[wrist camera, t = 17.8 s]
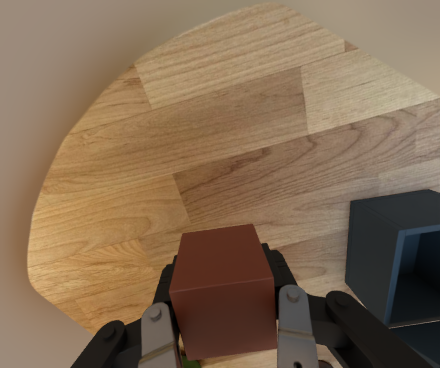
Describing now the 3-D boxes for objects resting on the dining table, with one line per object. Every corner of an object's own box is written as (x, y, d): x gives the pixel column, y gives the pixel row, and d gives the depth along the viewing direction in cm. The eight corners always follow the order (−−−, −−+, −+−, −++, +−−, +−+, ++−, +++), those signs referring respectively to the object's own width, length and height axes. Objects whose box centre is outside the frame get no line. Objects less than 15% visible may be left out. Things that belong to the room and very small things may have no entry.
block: (181, 232, 13) (168, 291, 9) (253, 222, 13) (274, 277, 9) (194, 287, 15) (187, 361, 10) (258, 279, 15) (278, 349, 10)
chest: (350, 201, 33) (398, 230, 25) (428, 189, 33) (504, 214, 25) (344, 282, 38) (382, 329, 30) (412, 271, 38) (469, 315, 30)
